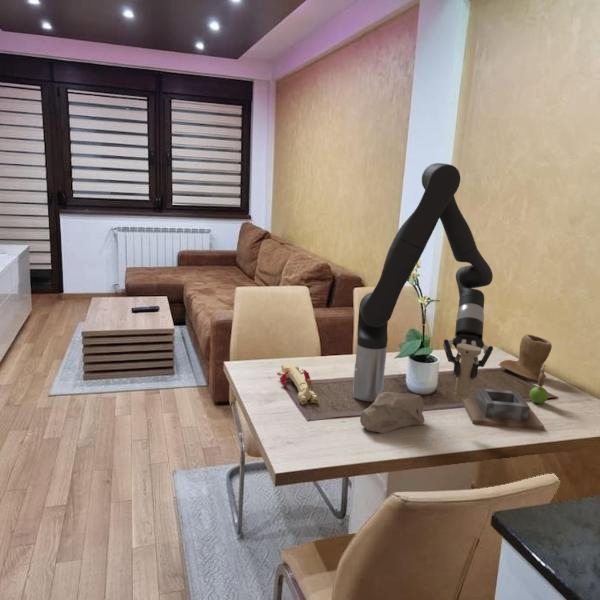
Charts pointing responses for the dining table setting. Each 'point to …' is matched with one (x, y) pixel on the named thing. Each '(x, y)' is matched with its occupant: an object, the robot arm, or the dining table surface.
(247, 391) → the dining table surface
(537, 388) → the green ball on stick
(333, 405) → the dining table surface
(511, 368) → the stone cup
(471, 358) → the handle
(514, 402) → the socket block
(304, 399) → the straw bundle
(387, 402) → the decorative stone
